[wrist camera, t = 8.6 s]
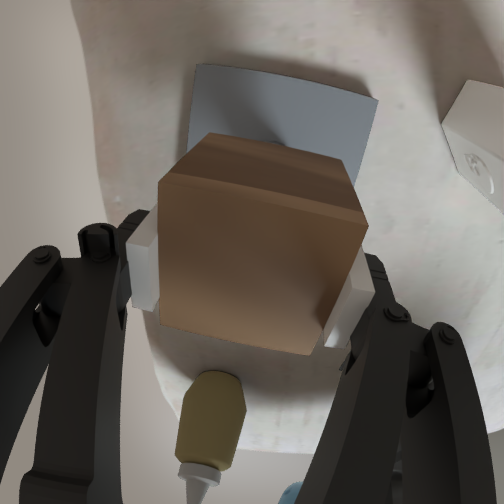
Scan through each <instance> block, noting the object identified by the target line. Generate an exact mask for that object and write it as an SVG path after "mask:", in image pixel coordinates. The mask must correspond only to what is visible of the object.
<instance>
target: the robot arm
mask: <svg viewBox="0 0 504 504" xmlns="http://www.w3.org/2000/svg"><path fill="white" fill-rule="evenodd" d="M157 211H158V203H157V204H156V205H155V206H154V208H153V209H152V210H151V211H146V210H140V209H139V210H137V211H135V212H133V213H131V214H129V215H128V216H127V217H126V219H125V220H124V221H123V223H121V224H120V225H119V227H118V228H117V229H116V228H115V227H114V226H113V225H110V224H107V223H95V224H91V225H88V226H86V227H84V228H83V229H81V230H80V231H79V233H78V240H79V246H80V252H81V258H61V255H60V251H59V250H58V249H57V248H56V247H54V246H50V245H49V246H48V245H45V246H40V247H37V248H35V249H33V250H32V251H31V252H30V253H28V254H27V256H26V257H25V258H24V259H23V260H22V261H21V262H20V264H19V265H18V266H17V267H16V269H15V270H14V271H13V272H12V273H11V275H10V276H9V277H8V278H7V280H6V281H5V282H4V283H3V284H2V286H1V287H0V483H1V480H2V477H3V473H4V470H5V467H6V464H7V461H8V459H9V456H10V453H11V450H12V447H13V445H14V442H15V439H16V437H17V434H18V431H19V429H20V426H21V424H22V422H23V419H24V417H25V414H26V412H27V410H28V407H29V405H30V403H31V400H32V398H33V396H34V394H35V392H36V389H37V387H38V385H39V383H40V381H41V378H42V376H43V374H44V372H45V370H46V368H47V366H48V364H49V366H48V371H47V375H46V380H45V385H44V390H43V396H42V401H41V407H40V414H39V421H38V428H37V436H36V444H35V455H34V463H33V467H32V469H31V470H30V471H28V472H27V473H26V474H24V476H23V478H22V480H21V484H20V490H19V504H123V501H122V495H121V476H120V402H121V380H122V364H123V352H124V341H125V331H126V330H125V329H126V321H127V308H126V304H127V302H128V300H129V298H130V297H131V299H132V306H133V307H134V308H138V309H142V310H146V311H150V312H153V310H154V308H155V305H156V303H157V301H158V299H159V297H160V292H159V266H158V234H157ZM38 304H39V306H38V308H37V309H36V310H35V308H36V307H37V305H38ZM323 336H324V346H326V347H333V348H340V349H345V347H346V345H347V343H348V342H349V340H351V348H352V349H351V351H350V353H349V354H348V356H347V357H346V359H345V361H344V362H343V364H342V365H341V367H340V369H339V370H340V371H342V370H343V372H342V375H341V378H340V382H339V385H338V388H337V391H336V395H335V398H334V401H333V404H332V407H331V410H330V413H329V416H328V419H327V422H326V424H325V427H324V430H323V433H322V436H321V438H320V441H319V444H318V446H317V449H316V452H315V454H314V457H313V459H312V462H311V464H310V467H309V469H308V472H307V474H306V477H305V479H304V481H303V482H296V483H293V484H292V485H290V486H289V487H288V488H287V489H286V490H285V491H284V493H283V494H282V496H281V498H280V501H279V503H278V504H497V502H496V490H495V481H494V473H493V465H492V459H491V452H490V446H489V440H488V435H487V430H486V425H485V420H484V416H483V412H482V407H481V403H480V399H479V395H478V391H477V388H476V384H475V380H474V377H473V373H472V370H471V367H470V363H469V360H468V357H467V354H466V351H465V348H464V345H463V342H462V339H461V337H460V335H459V333H458V332H457V331H456V330H455V329H454V328H453V327H452V326H450V325H449V324H446V323H443V322H437V323H435V324H433V326H432V327H431V329H430V330H428V329H425V328H423V327H420V326H418V325H416V324H414V323H412V320H411V316H410V314H409V313H408V311H407V310H406V309H405V308H404V307H403V306H402V305H400V304H398V303H396V301H395V298H394V295H393V292H392V289H391V286H390V283H389V281H388V277H387V274H386V271H385V268H384V265H383V263H382V262H381V261H380V260H379V259H378V257H377V256H376V255H371V254H367V253H364V251H363V248H362V245H361V246H360V249H359V251H358V254H357V256H356V258H355V261H354V263H353V265H352V268H351V270H350V272H349V274H348V276H347V279H346V281H345V283H344V286H343V288H342V290H341V292H340V295H339V297H338V299H337V301H336V303H335V306H334V308H333V310H332V312H331V314H330V316H329V318H328V320H327V322H326V324H325V327H324V329H323Z"/></svg>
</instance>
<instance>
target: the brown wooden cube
mask: <svg viewBox="0 0 504 504" xmlns="http://www.w3.org/2000/svg"><path fill="white" fill-rule="evenodd" d="M368 227H369V225H368V223H367V220H366V218H365V215H364V212H363V210H362V207H361V205H360V202H359V200H358V197H357V195H356V192H355V190H354V187H353V185H352V183H351V180H350V178H349V176H348V173H347V171H346V169H345V166H344V164H343V162H342V160H341V159H337V158H333V157H329V156H325V155H321V154H317V153H313V152H309V151H305V150H300V149H296V148H291V147H287V146H282V145H277V144H273V143H268V142H263V141H257V140H252V139H247V138H241V137H236V136H230V135H224V134H218V133H211V132H209V133H208V134H207V135H206V136H205V137H204V138H203V139H202V140H201V141H199V142H198V143H197V144H196V145H195V146H194V147H193V148H192V149H191V150H190V151H189V152H188V153H187V154H186V155H185V156H184V157H183V158H182V159H181V160H180V161H179V162H178V163H177V164H176V165H175V166H174V167H173V168H172V169H171V170H170V171H169V172H168V173H167V174H166V175H165V176H164V177H163V178H162V179H161V180H160V181H159V182H158V211H157V234H158V266H159V292H160V297H159V312H160V325H163V326H167V327H171V328H175V329H179V330H183V331H187V332H191V333H196V334H200V335H204V336H209V337H213V338H217V339H222V340H227V341H231V342H236V343H241V344H246V345H251V346H256V347H261V348H267V349H272V350H278V351H283V352H289V353H295V354H301V355H307V356H310V355H311V353H312V351H313V349H314V347H315V345H316V343H317V341H318V339H319V337H320V335H321V333H322V331H323V329H324V327H325V324H326V322H327V320H328V318H329V316H330V314H331V312H332V310H333V308H334V306H335V303H336V301H337V299H338V297H339V295H340V292H341V290H342V288H343V286H344V283H345V281H346V279H347V276H348V274H349V272H350V270H351V268H352V265H353V263H354V261H355V258H356V256H357V254H358V251H359V249H360V246H361V244H362V242H363V239H364V237H365V234H366V232H367V229H368Z"/></svg>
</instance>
